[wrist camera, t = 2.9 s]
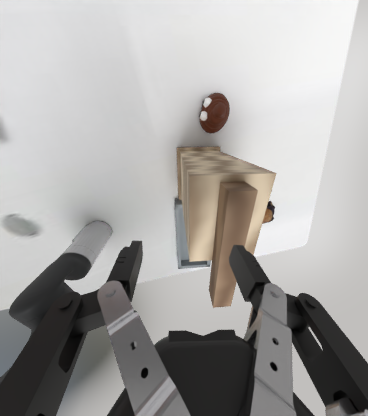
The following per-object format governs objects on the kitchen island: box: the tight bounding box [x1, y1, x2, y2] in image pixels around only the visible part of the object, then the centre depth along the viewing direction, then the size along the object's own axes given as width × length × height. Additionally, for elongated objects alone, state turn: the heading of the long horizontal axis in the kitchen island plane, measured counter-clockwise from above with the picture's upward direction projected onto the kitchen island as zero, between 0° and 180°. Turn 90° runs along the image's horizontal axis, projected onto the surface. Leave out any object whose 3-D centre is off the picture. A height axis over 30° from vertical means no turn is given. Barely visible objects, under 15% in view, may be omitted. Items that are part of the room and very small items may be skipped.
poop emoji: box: [199, 93, 229, 133], centre depth 39 cm, size 10×8×9 cm
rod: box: [209, 181, 258, 307], centre depth 24 cm, size 4×24×4 cm, turn 1°
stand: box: [177, 147, 276, 262], centre depth 37 cm, size 14×18×32 cm
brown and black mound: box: [262, 201, 275, 224], centre depth 60 cm, size 11×8×4 cm
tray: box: [175, 199, 211, 269], centre depth 61 cm, size 15×33×5 cm, turn 1°
